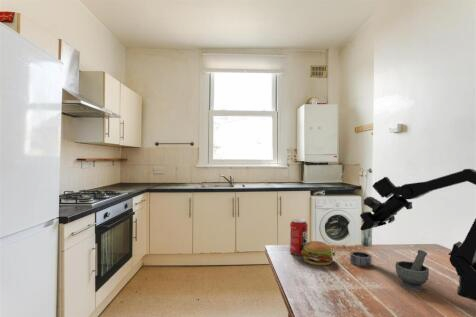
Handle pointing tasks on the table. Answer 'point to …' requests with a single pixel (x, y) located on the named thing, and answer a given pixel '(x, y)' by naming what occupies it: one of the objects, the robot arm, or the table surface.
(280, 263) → the table surface
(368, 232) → the tube
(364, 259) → the collar ring
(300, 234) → the soda can
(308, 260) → the food
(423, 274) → the mortar and pestle
